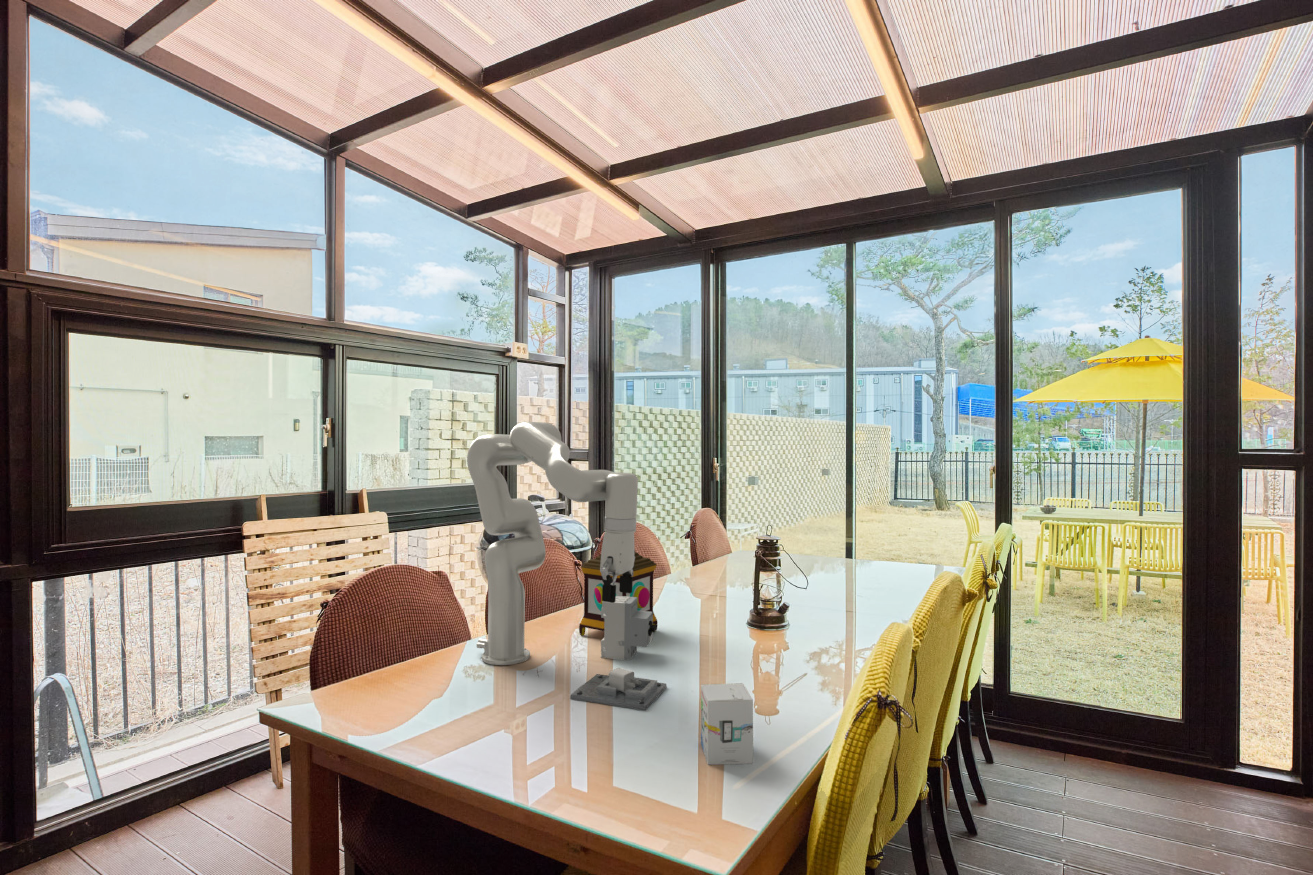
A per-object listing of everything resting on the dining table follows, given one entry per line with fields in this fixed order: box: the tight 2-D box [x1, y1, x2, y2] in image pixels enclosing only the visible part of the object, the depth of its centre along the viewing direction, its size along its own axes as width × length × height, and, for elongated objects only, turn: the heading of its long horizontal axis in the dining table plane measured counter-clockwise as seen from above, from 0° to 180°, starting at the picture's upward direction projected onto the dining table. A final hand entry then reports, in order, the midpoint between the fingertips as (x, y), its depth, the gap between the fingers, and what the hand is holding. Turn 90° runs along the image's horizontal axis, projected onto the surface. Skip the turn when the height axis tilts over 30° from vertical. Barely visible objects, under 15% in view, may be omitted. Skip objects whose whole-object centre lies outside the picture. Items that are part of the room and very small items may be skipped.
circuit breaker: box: [600, 596, 658, 661], centre depth 178 cm, size 8×14×15 cm, turn 78°
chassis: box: [570, 673, 667, 711], centre depth 151 cm, size 18×14×2 cm
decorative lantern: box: [578, 551, 658, 636], centre depth 199 cm, size 20×20×30 cm
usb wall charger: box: [608, 667, 641, 692], centre depth 150 cm, size 4×7×4 cm, turn 54°
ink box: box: [700, 682, 754, 766], centre depth 122 cm, size 8×8×12 cm
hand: (617, 596), depth 155 cm, fingers open, 9 cm apart
